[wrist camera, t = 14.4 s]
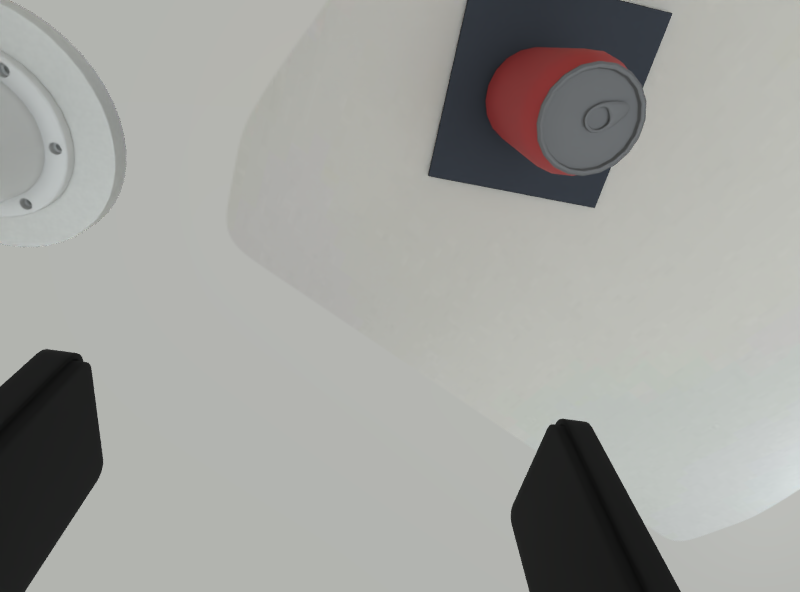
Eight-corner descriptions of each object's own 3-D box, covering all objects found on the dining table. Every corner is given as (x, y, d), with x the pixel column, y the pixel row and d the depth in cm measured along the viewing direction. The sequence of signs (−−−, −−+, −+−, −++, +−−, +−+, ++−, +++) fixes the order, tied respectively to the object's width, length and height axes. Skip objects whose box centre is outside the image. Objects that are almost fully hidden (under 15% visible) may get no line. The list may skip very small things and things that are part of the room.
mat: (428, 174, 38) (428, 176, 37) (475, -35, 31) (476, -36, 31) (593, 206, 39) (594, 208, 39) (669, 13, 33) (672, 13, 33)
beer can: (580, 125, 36) (663, 160, 25) (496, 156, 37) (542, 203, 26) (564, 31, 33) (650, 26, 22) (473, 68, 34) (514, 79, 23)
